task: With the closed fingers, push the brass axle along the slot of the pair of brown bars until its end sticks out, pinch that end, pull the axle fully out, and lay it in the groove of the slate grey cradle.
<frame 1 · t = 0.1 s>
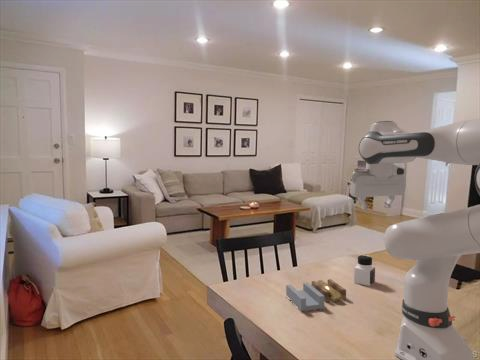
hand: (375, 208, 121), 39 cm above the table, tool pointing down, fingers open, 8 cm apart
cradle: (304, 302, 136), on the table
axle: (328, 290, 143), point 2 cm above the table
medicine bottle: (364, 282, 156), on the table
pair of brown bars: (328, 295, 143), on the table
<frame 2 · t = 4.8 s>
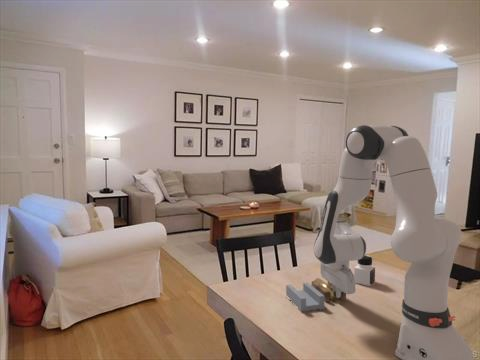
hand: (336, 296, 136), 2 cm above the table, tool pointing down, fingers closed
axle: (325, 288, 144), point 2 cm above the table, tilted 6°, touching gripper
everything else where it was.
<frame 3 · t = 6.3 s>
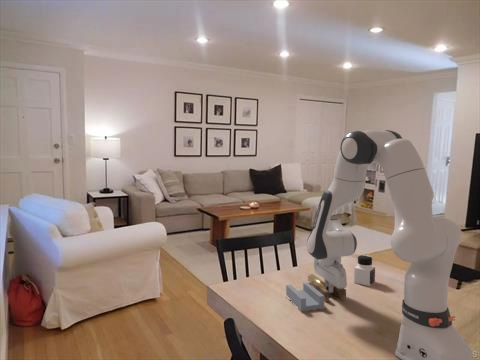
hand: (329, 290, 142), 2 cm above the table, tool pointing down, fingers closed
axle: (318, 284, 150), point 2 cm above the table, tilted 7°, touching gripper
everything else where it was.
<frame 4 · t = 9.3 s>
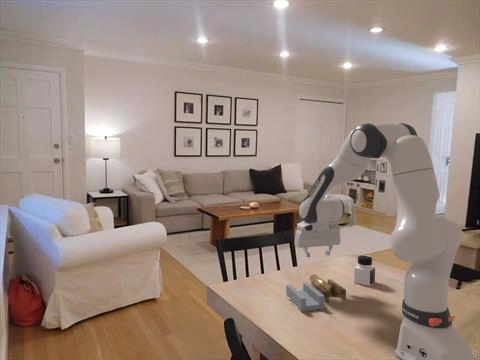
hand: (317, 256, 151), 14 cm above the table, tool pointing down, fingers open, 8 cm apart
axle: (321, 284, 150), point 2 cm above the table, tilted 24°
everything else where it was.
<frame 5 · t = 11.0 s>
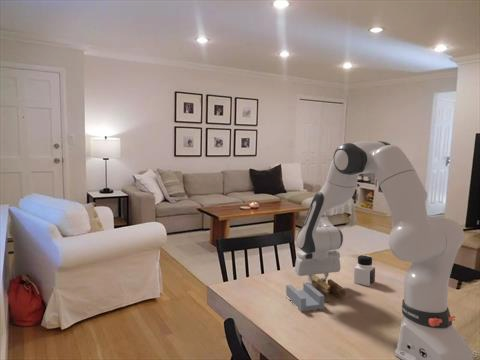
hand: (317, 283, 151), 2 cm above the table, tool pointing down, fingers closed on axle, 4 cm apart
axle: (319, 283, 150), point 2 cm above the table, touching gripper
everything else where it was.
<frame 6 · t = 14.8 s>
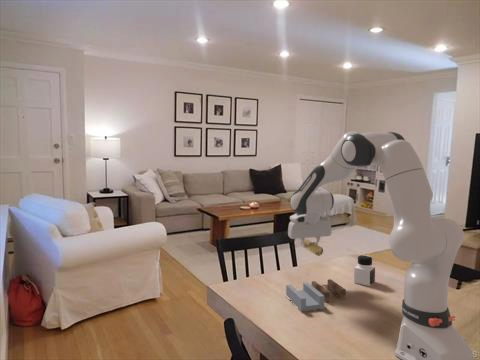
hand: (309, 246, 158), 16 cm above the table, tool pointing down, fingers closed on axle, 4 cm apart
axle: (311, 246, 156), point 16 cm above the table, touching gripper
everything else where it was.
when the fingers open (6 cm above the table, at t = 18.7 s): axle drops 2 cm, resting on cradle.
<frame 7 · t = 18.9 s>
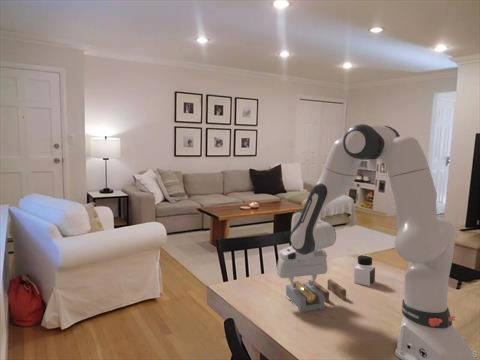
hand: (302, 286, 137), 6 cm above the table, tool pointing down, fingers open, 6 cm apart
axle: (303, 292, 136), point 4 cm above the table, touching cradle
everything else where it was.
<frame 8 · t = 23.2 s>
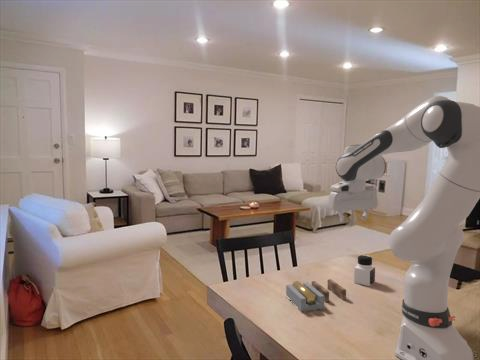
hand: (353, 220, 139), 31 cm above the table, tool pointing down, fingers open, 8 cm apart
nothing on the table moved.
at the end: axle 0.4 cm off-centre on the cradle, point 4.0 cm above the cradle's base; the gripper is holding nothing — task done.
